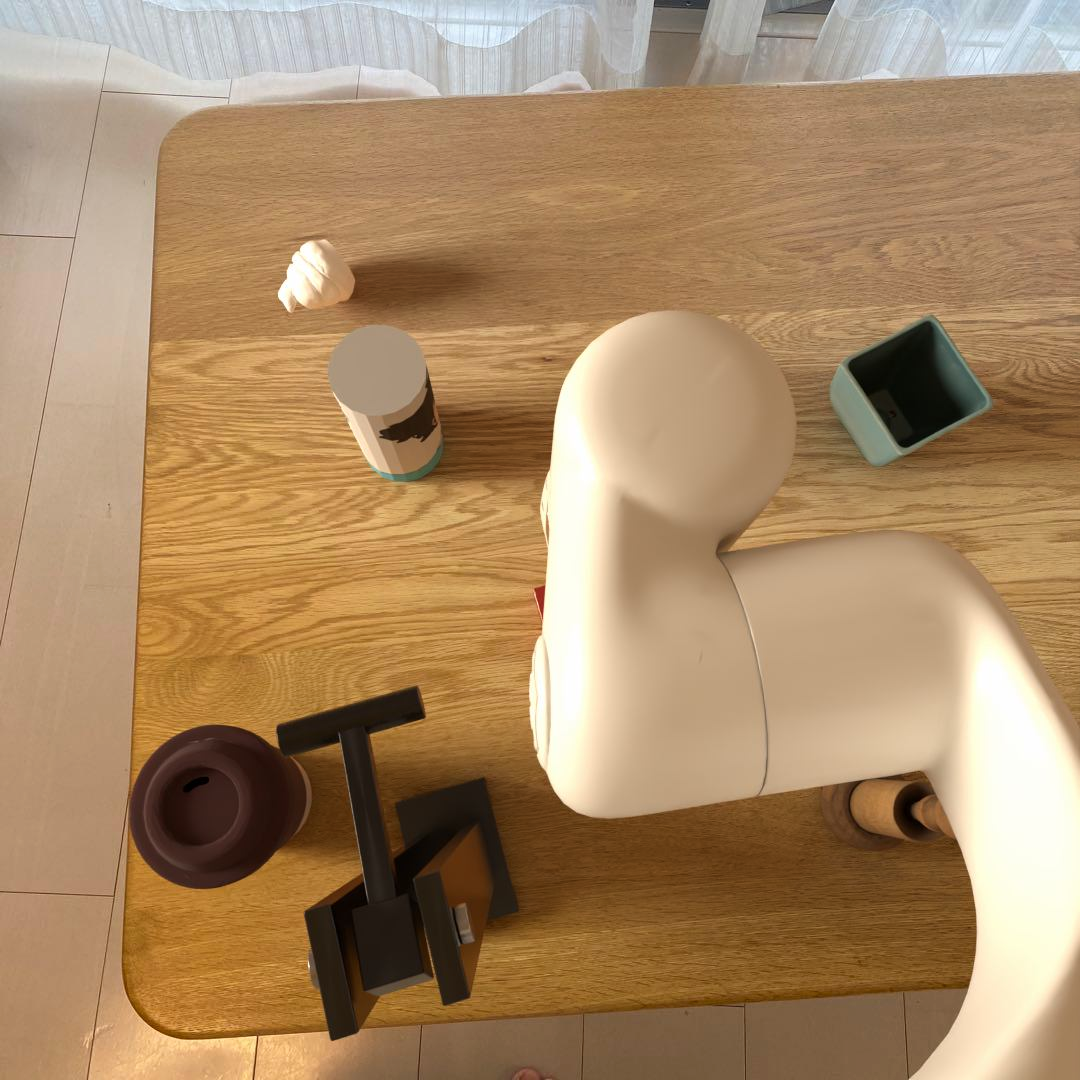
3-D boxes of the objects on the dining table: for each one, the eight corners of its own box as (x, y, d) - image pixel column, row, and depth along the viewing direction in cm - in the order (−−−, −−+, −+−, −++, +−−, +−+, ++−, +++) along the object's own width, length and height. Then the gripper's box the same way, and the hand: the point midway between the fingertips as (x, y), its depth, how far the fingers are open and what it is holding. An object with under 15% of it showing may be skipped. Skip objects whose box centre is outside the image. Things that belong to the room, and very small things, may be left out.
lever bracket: (396, 802, 71) (258, 840, 34) (484, 776, 72) (446, 785, 34) (428, 937, 69) (319, 1139, 31) (519, 909, 70) (519, 1075, 32)
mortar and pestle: (813, 836, 71) (909, 858, 54) (827, 752, 73) (924, 747, 55) (898, 858, 71) (1022, 887, 54) (910, 773, 73) (1035, 774, 55)
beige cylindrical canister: (460, 445, 78) (446, 372, 64) (400, 498, 77) (372, 435, 62) (407, 390, 79) (382, 305, 65) (346, 441, 78) (307, 366, 64)
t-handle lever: (287, 734, 40) (270, 715, 38) (423, 696, 41) (413, 675, 39) (327, 1012, 35) (309, 1008, 33) (483, 964, 35) (476, 957, 33)
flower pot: (859, 492, 78) (902, 457, 69) (803, 405, 80) (838, 360, 71) (946, 445, 79) (998, 405, 70) (888, 360, 81) (933, 311, 72)
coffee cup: (315, 877, 70) (261, 905, 55) (185, 855, 70) (97, 878, 55) (342, 743, 72) (298, 737, 58) (217, 723, 72) (141, 711, 58)
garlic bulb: (271, 296, 81) (253, 263, 76) (325, 256, 82) (312, 221, 77) (309, 340, 80) (294, 310, 75) (364, 299, 81) (353, 267, 76)
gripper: (502, 383, 41) (508, 506, 58) (600, 718, 37) (575, 740, 55) (665, 342, 41) (622, 476, 59) (778, 667, 38) (696, 706, 55)
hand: (599, 603), depth 57 cm, fingers closed
